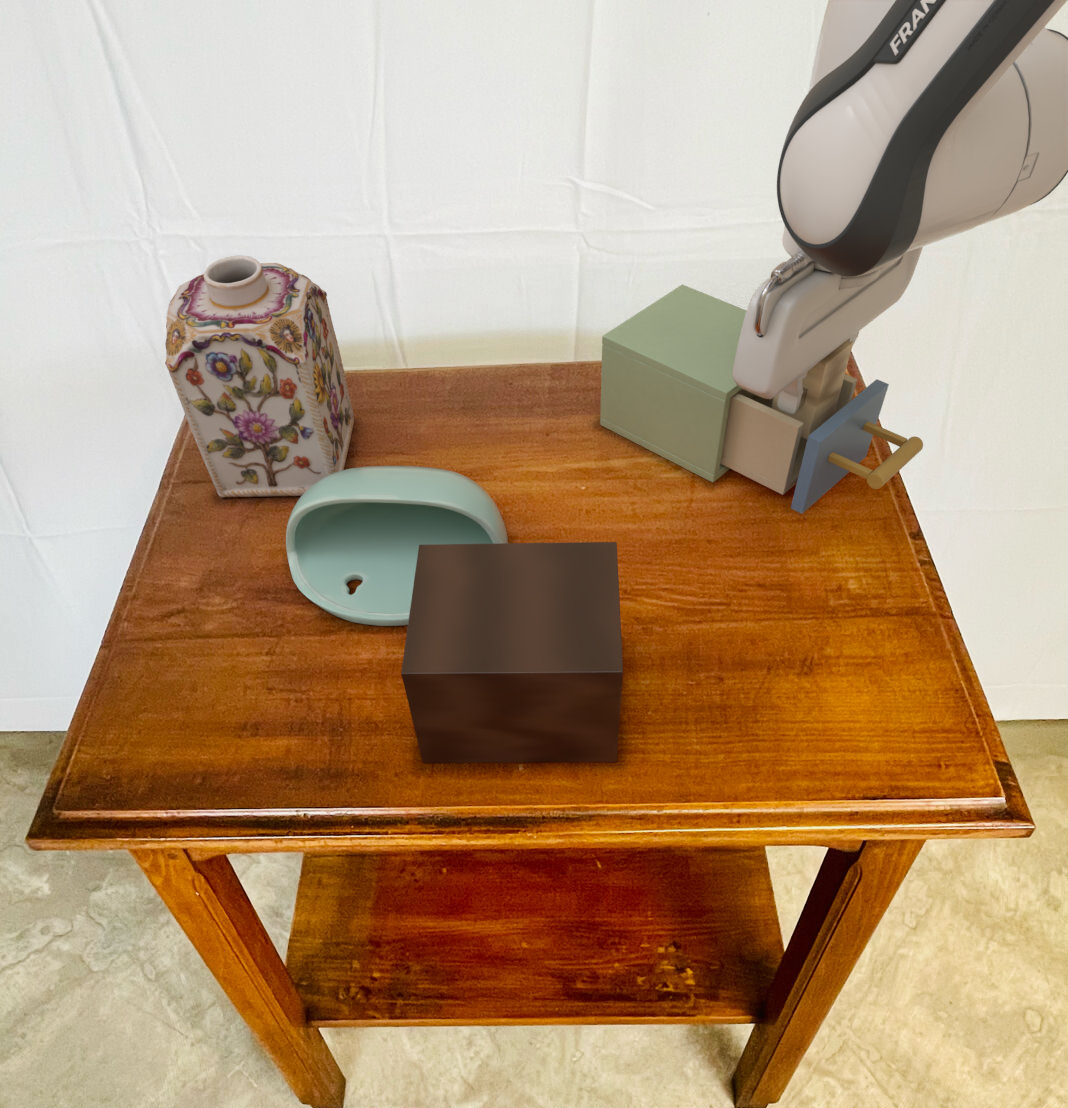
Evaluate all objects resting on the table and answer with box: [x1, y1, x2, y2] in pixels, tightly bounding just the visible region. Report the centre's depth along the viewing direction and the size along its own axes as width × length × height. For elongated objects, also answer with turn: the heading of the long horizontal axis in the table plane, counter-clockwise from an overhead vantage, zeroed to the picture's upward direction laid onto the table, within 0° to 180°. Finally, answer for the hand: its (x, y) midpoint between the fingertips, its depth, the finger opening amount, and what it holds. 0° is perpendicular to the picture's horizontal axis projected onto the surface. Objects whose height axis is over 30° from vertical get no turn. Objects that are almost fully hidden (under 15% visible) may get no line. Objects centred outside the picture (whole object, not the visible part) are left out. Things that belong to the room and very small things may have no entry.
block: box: [772, 340, 854, 439], centre depth 75 cm, size 4×4×7 cm
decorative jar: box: [164, 255, 355, 499], centre depth 79 cm, size 12×12×18 cm
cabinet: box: [599, 284, 747, 484], centre depth 83 cm, size 14×12×9 cm
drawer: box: [720, 373, 924, 515], centre depth 78 cm, size 18×10×7 cm, turn 47°
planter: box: [285, 465, 509, 627], centre depth 75 cm, size 19×7×16 cm
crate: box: [400, 541, 624, 764], centre depth 64 cm, size 14×12×10 cm
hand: (808, 393), depth 76 cm, fingers closed on block, 4 cm apart
